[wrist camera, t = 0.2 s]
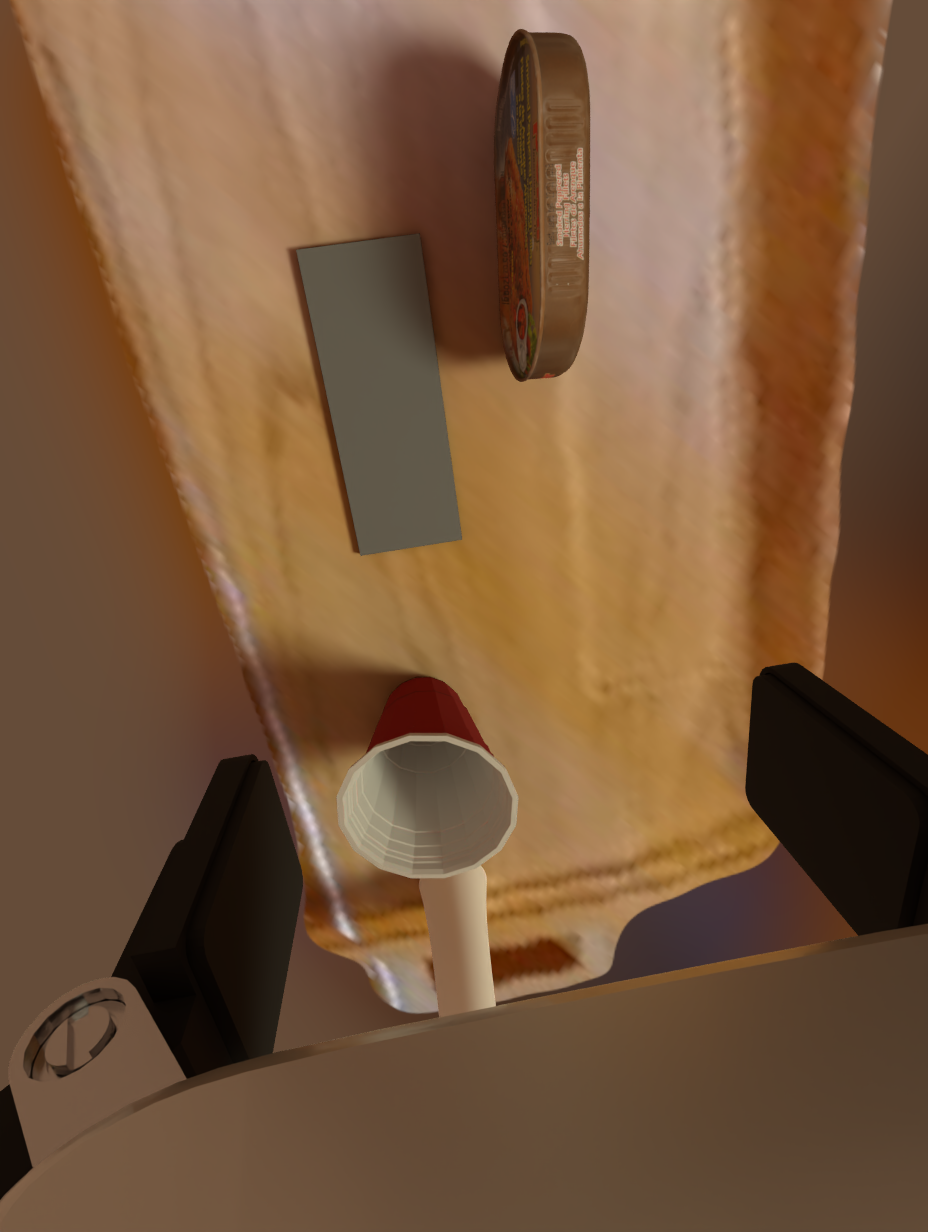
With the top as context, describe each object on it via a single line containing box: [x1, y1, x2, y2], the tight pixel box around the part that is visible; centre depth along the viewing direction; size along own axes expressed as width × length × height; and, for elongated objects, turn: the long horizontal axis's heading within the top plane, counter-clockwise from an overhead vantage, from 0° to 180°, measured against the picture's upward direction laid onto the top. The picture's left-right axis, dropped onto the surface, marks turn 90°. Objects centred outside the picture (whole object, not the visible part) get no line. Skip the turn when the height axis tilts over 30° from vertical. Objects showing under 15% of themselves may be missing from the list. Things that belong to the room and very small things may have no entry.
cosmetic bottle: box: [419, 865, 496, 1018], centre depth 42 cm, size 6×6×22 cm
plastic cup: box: [337, 677, 518, 878], centre depth 40 cm, size 11×11×12 cm
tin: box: [494, 29, 590, 382], centre depth 31 cm, size 15×3×8 cm, turn 4°
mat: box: [296, 233, 462, 556], centre depth 37 cm, size 18×7×1 cm, turn 8°
